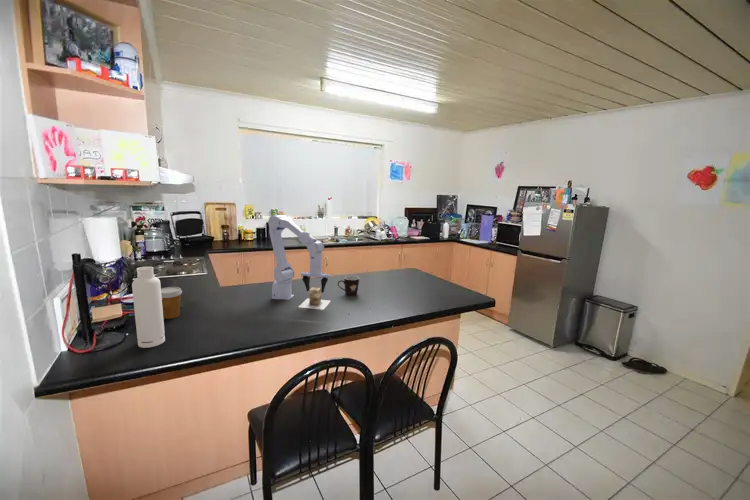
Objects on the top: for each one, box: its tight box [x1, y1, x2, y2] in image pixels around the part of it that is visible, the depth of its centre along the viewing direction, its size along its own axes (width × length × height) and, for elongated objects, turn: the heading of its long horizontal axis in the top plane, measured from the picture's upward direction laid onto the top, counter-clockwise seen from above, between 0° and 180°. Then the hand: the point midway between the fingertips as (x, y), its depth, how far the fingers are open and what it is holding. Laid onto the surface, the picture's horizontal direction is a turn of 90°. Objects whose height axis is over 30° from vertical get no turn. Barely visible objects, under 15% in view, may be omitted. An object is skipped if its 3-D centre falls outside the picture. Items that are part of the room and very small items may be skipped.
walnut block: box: [308, 295, 322, 306], centre depth 157 cm, size 4×4×4 cm
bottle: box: [131, 266, 166, 349], centre depth 111 cm, size 8×8×28 cm
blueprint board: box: [298, 297, 331, 311], centre depth 158 cm, size 13×13×1 cm
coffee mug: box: [337, 275, 360, 297], centre depth 175 cm, size 12×9×10 cm
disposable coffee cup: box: [161, 286, 183, 320], centre depth 135 cm, size 10×10×12 cm
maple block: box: [308, 286, 322, 298], centre depth 156 cm, size 4×4×4 cm
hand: (315, 291), depth 156 cm, fingers open, 7 cm apart
